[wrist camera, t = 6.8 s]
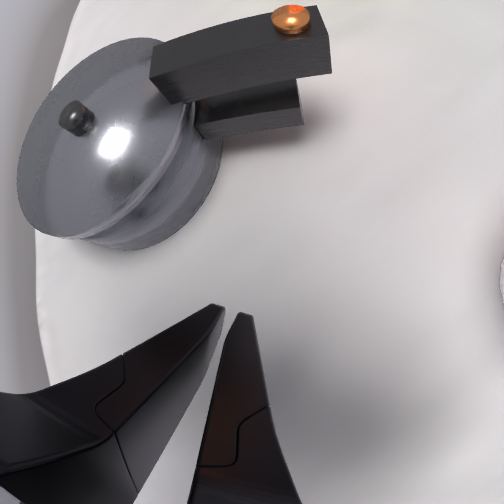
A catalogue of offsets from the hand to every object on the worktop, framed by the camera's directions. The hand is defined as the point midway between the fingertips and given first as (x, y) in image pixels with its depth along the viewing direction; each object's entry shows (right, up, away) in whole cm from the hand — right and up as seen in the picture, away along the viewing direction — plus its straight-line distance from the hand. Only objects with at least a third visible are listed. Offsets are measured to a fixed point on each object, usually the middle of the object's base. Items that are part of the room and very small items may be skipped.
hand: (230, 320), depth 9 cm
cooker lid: (-7, +11, +10) cm, 16 cm away
